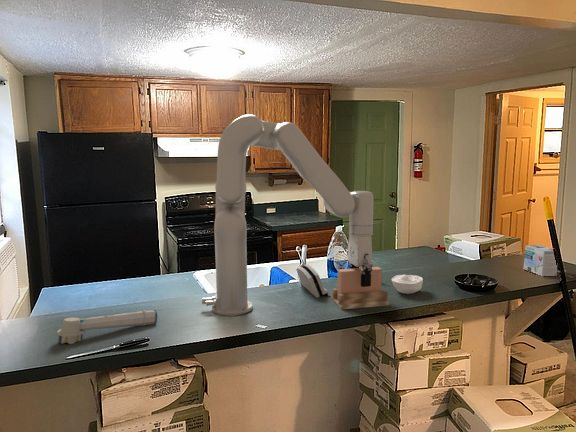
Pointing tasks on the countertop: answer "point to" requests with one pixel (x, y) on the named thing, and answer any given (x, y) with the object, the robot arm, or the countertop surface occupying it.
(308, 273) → the grey rounded piece
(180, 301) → the countertop surface
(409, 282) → the white bowl
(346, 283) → the door panel
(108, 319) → the beige mallet
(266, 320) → the countertop surface
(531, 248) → the light bulb box
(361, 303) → the guide track
